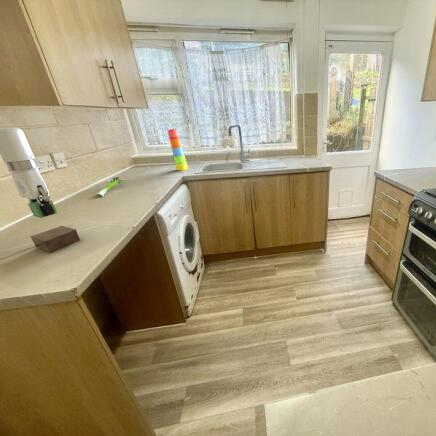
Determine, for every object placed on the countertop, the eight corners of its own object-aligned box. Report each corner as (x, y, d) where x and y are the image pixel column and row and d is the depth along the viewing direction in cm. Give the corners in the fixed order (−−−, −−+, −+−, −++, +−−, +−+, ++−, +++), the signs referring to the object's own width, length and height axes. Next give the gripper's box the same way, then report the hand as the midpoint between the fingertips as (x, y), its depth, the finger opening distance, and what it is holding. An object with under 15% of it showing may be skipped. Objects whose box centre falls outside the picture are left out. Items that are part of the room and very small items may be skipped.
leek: (94, 200, 151) (114, 183, 177) (107, 200, 153) (124, 183, 179) (91, 191, 148) (112, 175, 174) (104, 191, 150) (123, 175, 176)
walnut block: (50, 253, 90) (44, 241, 88) (35, 247, 94) (29, 236, 92) (80, 240, 99) (76, 229, 97) (66, 236, 103) (61, 225, 101)
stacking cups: (191, 170, 216) (181, 128, 202) (180, 172, 209) (169, 130, 195) (184, 168, 222) (175, 128, 208) (174, 171, 215) (163, 130, 201)
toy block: (41, 218, 88) (34, 205, 86) (33, 216, 90) (27, 203, 88) (57, 213, 93) (52, 200, 91) (50, 211, 94) (44, 199, 92)
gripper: (-5, 166, 84) (21, 214, 91) (20, 169, 78) (45, 221, 85) (24, 162, 90) (45, 207, 98) (49, 164, 84) (70, 213, 91)
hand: (45, 213), depth 91 cm, fingers closed on toy block, 5 cm apart
